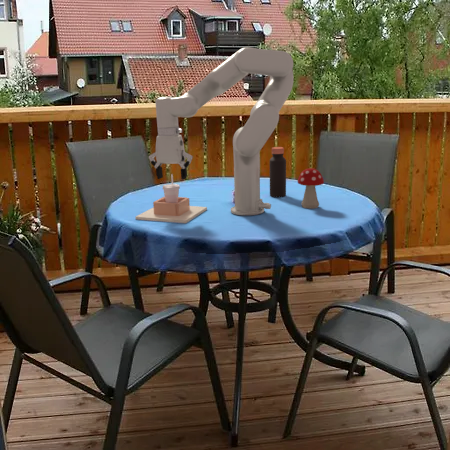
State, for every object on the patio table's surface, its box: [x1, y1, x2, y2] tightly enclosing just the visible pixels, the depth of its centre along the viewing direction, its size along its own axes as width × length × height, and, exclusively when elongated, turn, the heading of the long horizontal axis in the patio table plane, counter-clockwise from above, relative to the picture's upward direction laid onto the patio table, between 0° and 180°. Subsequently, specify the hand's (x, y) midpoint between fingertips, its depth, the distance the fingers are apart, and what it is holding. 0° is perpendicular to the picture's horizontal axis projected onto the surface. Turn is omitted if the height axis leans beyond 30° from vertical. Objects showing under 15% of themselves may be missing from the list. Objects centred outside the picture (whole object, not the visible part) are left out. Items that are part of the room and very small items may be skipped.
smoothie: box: [162, 173, 181, 203], centre depth 222 cm, size 6×6×14 cm
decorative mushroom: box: [297, 167, 325, 210], centre depth 227 cm, size 10×9×15 cm
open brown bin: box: [135, 196, 208, 224], centre depth 223 cm, size 20×20×6 cm
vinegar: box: [269, 146, 287, 198], centre depth 246 cm, size 7×7×20 cm
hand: (172, 178), depth 220 cm, fingers open, 9 cm apart
